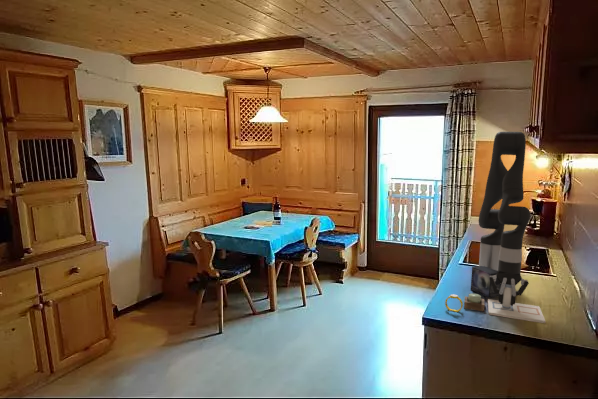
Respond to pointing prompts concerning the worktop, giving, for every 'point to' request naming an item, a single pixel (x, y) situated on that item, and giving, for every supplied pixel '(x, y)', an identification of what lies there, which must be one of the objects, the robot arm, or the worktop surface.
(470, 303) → the button housing
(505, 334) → the worktop surface
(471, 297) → the button
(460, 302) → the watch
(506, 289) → the marker
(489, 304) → the colouring board
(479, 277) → the small box
